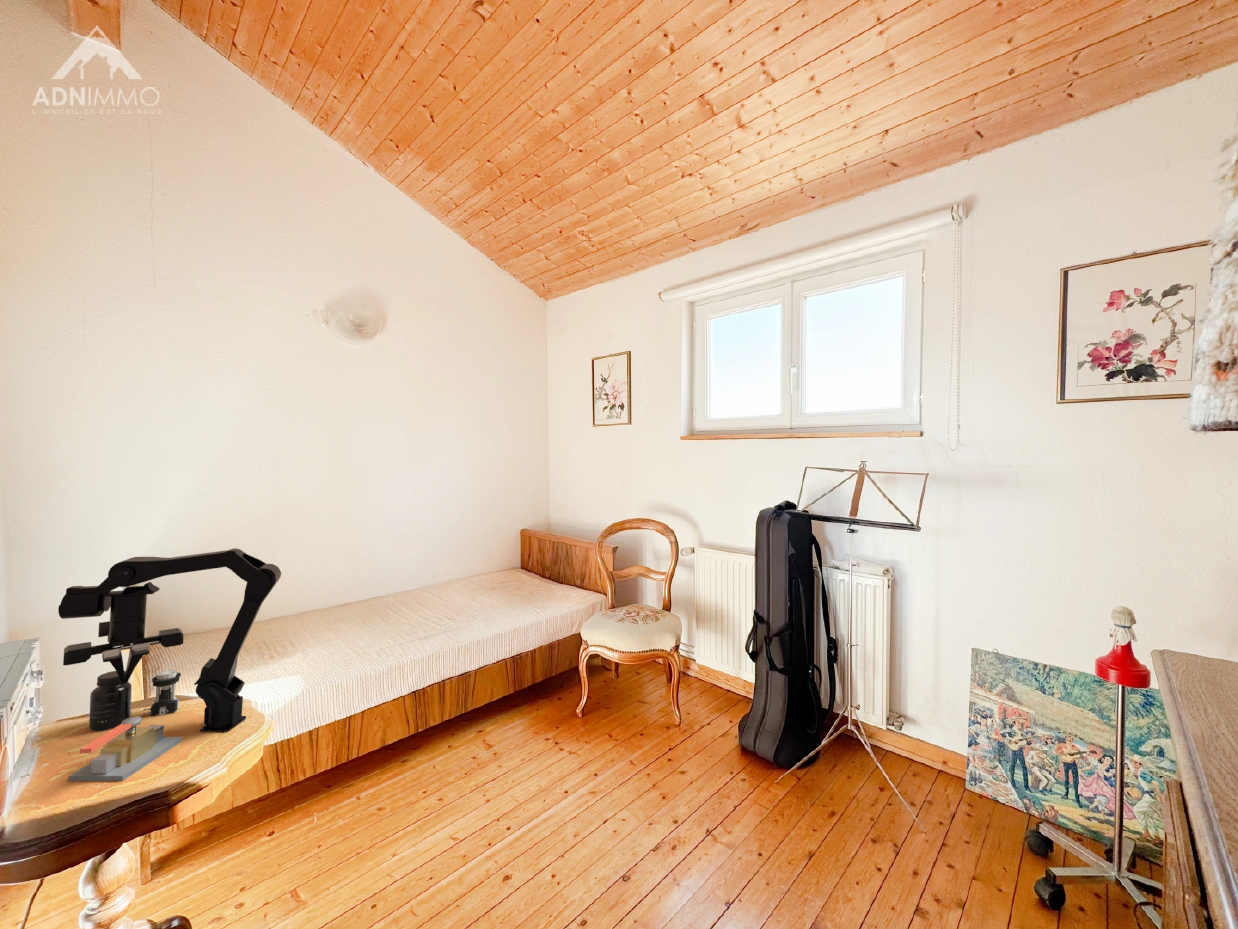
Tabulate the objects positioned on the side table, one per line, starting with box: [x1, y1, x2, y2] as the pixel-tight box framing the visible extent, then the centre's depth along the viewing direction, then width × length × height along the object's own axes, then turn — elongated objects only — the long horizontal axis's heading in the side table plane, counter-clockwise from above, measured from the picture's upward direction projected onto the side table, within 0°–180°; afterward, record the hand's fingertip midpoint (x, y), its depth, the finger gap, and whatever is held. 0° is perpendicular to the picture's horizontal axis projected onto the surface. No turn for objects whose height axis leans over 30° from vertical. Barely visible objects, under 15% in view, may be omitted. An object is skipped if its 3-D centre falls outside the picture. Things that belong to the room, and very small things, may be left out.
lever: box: [79, 715, 142, 754], centre depth 98 cm, size 12×3×1 cm, turn 10°
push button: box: [142, 669, 182, 716], centre depth 121 cm, size 7×5×10 cm
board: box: [68, 736, 183, 782], centre depth 102 cm, size 10×14×1 cm
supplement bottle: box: [88, 670, 132, 732], centre depth 115 cm, size 7×7×12 cm
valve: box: [90, 724, 165, 774], centre depth 102 cm, size 5×13×6 cm, turn 4°
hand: (124, 683), depth 109 cm, fingers closed
